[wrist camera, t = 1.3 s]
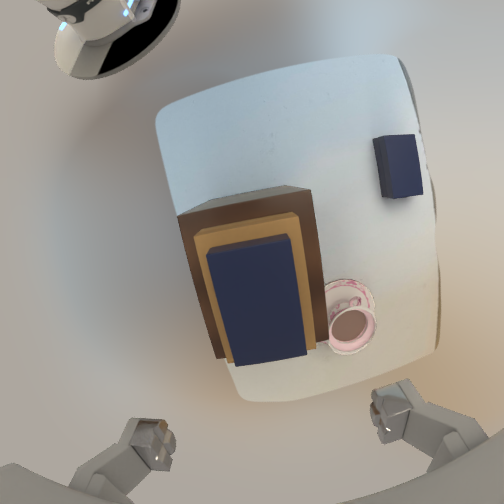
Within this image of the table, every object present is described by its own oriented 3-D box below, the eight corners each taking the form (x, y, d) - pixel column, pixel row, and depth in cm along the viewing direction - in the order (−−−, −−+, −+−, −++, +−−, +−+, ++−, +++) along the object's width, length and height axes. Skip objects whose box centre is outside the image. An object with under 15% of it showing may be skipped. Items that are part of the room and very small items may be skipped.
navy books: (372, 139, 37) (383, 135, 33) (401, 137, 37) (414, 134, 33) (381, 196, 39) (393, 198, 36) (410, 192, 39) (423, 194, 35)
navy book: (209, 247, 20) (205, 254, 18) (286, 232, 20) (290, 238, 18) (236, 352, 22) (235, 367, 20) (303, 341, 22) (307, 355, 20)
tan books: (200, 229, 23) (193, 236, 20) (292, 211, 22) (298, 216, 19) (230, 344, 25) (227, 363, 22) (310, 330, 25) (316, 348, 22)
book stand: (209, 200, 40) (176, 215, 22) (285, 185, 39) (310, 189, 22) (230, 290, 43) (216, 359, 26) (301, 277, 43) (329, 340, 25)
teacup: (361, 345, 46) (372, 364, 40) (297, 340, 45) (303, 361, 39) (382, 283, 43) (398, 298, 37) (315, 273, 42) (324, 288, 36)
